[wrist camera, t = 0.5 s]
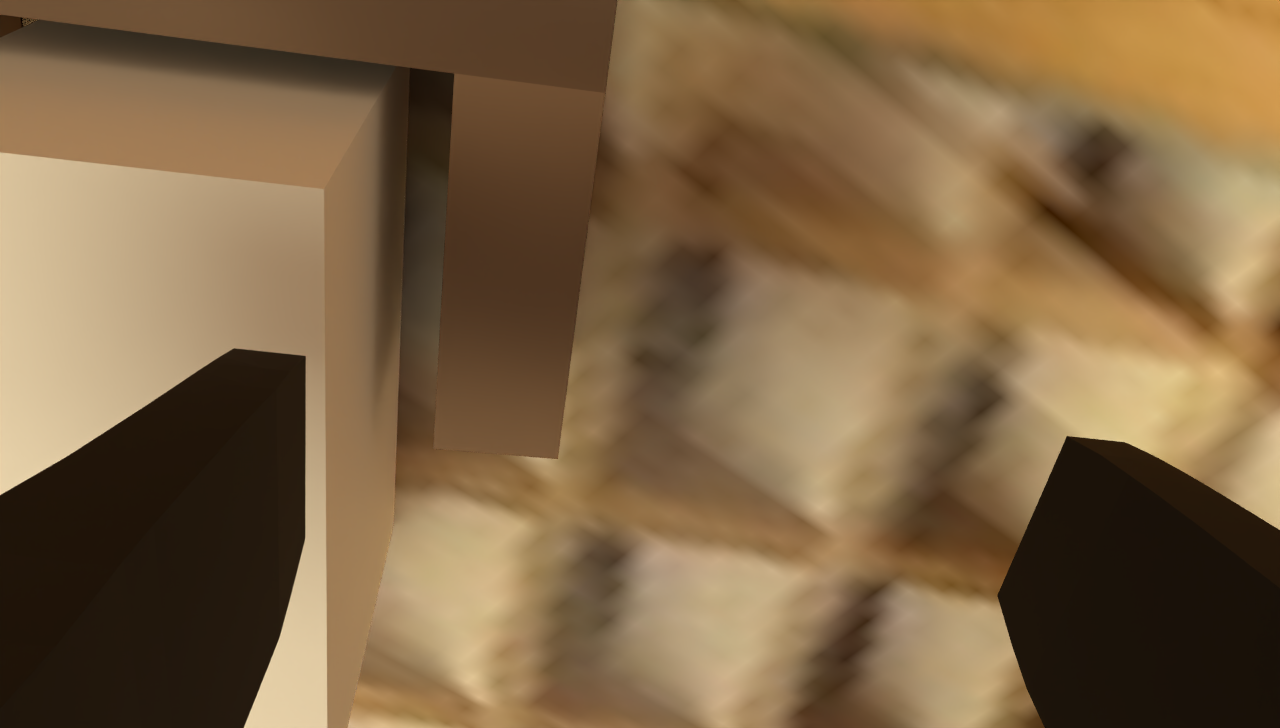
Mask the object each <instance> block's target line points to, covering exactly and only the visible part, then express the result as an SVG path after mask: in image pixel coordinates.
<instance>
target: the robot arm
mask: <svg viewBox="0 0 1280 728" xmlns="http://www.w3.org/2000/svg"><path fill="white" fill-rule="evenodd" d="M305 462H306V356H302V355H293V354H284V353H274V352H265V351H255V350H246V349H236V348H234V349H232V350H230V351H229V352H227V353H225V354H223V355H222V356H220V357H219V358H217V359H215V360H214V361H212V362H211V363H209V364H208V365H206V366H205V367H203V368H202V369H200V370H198V371H197V372H195V373H194V374H192V375H191V376H189V377H188V378H186V379H185V380H184V381H182V382H181V383H179V384H178V385H176V386H175V387H173V388H172V389H170V390H169V391H167V392H166V393H164V394H163V395H161V396H160V397H158V398H157V399H155V400H154V401H152V402H151V403H149V404H148V405H146V406H145V407H143V408H142V409H140V410H138V411H137V412H135V413H134V414H132V415H131V416H129V417H128V418H126V419H124V420H123V421H121V422H120V423H118V424H117V425H115V426H114V427H112V428H110V429H109V430H107V431H106V432H104V433H103V434H101V435H100V436H98V437H96V438H95V439H93V440H92V441H90V442H89V443H87V444H86V445H84V446H82V447H81V448H79V449H78V450H76V451H75V452H73V453H71V454H70V455H68V456H67V457H65V458H63V459H62V460H60V461H58V462H57V463H55V464H53V465H51V466H50V467H48V468H46V469H44V470H43V471H41V472H39V473H37V474H36V475H34V476H32V477H31V478H29V479H27V480H25V481H24V482H22V483H20V484H18V485H17V486H15V487H13V488H11V489H10V490H8V491H6V492H4V493H3V494H1V495H0V728H244V726H245V724H246V721H247V719H248V716H249V714H250V711H251V709H252V706H253V704H254V701H255V699H256V696H257V694H258V691H259V689H260V686H261V683H262V681H263V678H264V676H265V673H266V671H267V668H268V666H269V663H270V661H271V658H272V656H273V653H274V650H275V648H276V645H277V643H278V640H279V638H280V634H281V631H282V627H283V623H284V620H285V616H286V612H287V608H288V605H289V601H290V597H291V594H292V590H293V586H294V582H295V578H296V574H297V570H298V566H299V562H300V558H301V554H302V550H303V546H304V542H305ZM998 599H999V602H1000V606H1001V609H1002V613H1003V616H1004V619H1005V623H1006V626H1007V630H1008V633H1009V636H1010V640H1011V643H1012V647H1013V649H1014V652H1015V655H1016V658H1017V661H1018V664H1019V667H1020V670H1021V673H1022V676H1023V679H1024V682H1025V685H1026V688H1027V690H1028V692H1029V694H1030V696H1031V699H1032V701H1033V703H1034V705H1035V707H1036V710H1037V712H1038V714H1039V716H1040V718H1041V720H1042V722H1043V725H1044V727H1045V728H1280V530H1278V529H1277V528H1275V527H1274V526H1272V525H1270V524H1269V523H1267V522H1265V521H1264V520H1262V519H1261V518H1259V517H1257V516H1256V515H1254V514H1252V513H1251V512H1249V511H1248V510H1246V509H1244V508H1243V507H1241V506H1239V505H1238V504H1236V503H1235V502H1233V501H1231V500H1230V499H1228V498H1226V497H1225V496H1223V495H1221V494H1220V493H1218V492H1216V491H1215V490H1213V489H1211V488H1210V487H1208V486H1206V485H1205V484H1203V483H1201V482H1200V481H1198V480H1196V479H1194V478H1193V477H1191V476H1189V475H1187V474H1186V473H1184V472H1182V471H1181V470H1179V469H1177V468H1175V467H1173V466H1172V465H1170V464H1168V463H1166V462H1164V461H1162V460H1160V459H1159V458H1157V457H1155V456H1153V455H1151V454H1149V453H1147V452H1145V451H1143V450H1140V449H1138V448H1136V447H1134V446H1132V445H1130V444H1128V443H1125V442H1117V441H1107V440H1098V439H1088V438H1079V437H1069V436H1067V437H1066V440H1065V442H1064V444H1063V447H1062V449H1061V451H1060V453H1059V456H1058V458H1057V460H1056V463H1055V465H1054V467H1053V469H1052V472H1051V474H1050V476H1049V479H1048V481H1047V483H1046V486H1045V488H1044V490H1043V492H1042V495H1041V497H1040V499H1039V502H1038V504H1037V506H1036V508H1035V511H1034V513H1033V515H1032V518H1031V520H1030V522H1029V524H1028V527H1027V529H1026V531H1025V534H1024V536H1023V538H1022V540H1021V543H1020V545H1019V547H1018V550H1017V552H1016V554H1015V557H1014V559H1013V561H1012V563H1011V566H1010V568H1009V570H1008V573H1007V575H1006V577H1005V579H1004V582H1003V584H1002V586H1001V589H1000V591H999V593H998Z"/></svg>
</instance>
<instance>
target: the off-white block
mask: <svg viewBox="0 0 1280 728" xmlns="http://www.w3.org/2000/svg"><path fill="white" fill-rule="evenodd" d="M409 80H410V68H409V67H401V66H393V65H386V64H378V63H370V62H362V61H355V60H347V59H339V58H332V57H324V56H316V55H308V54H301V53H293V52H285V51H278V50H270V49H262V48H255V47H247V46H239V45H231V44H224V43H216V42H208V41H201V40H193V39H185V38H177V37H170V36H162V35H154V34H147V33H139V32H131V31H123V30H116V29H108V28H100V27H93V26H85V25H77V24H69V23H62V22H54V21H46V20H38V21H36V22H33V23H31V24H29V25H27V26H25V27H22V28H20V29H18V30H16V31H14V32H11V33H9V34H7V35H5V36H2V37H0V495H1V494H3V493H4V492H6V491H8V490H10V489H11V488H13V487H15V486H17V485H18V484H20V483H22V482H24V481H25V480H27V479H29V478H31V477H32V476H34V475H36V474H37V473H39V472H41V471H43V470H44V469H46V468H48V467H50V466H51V465H53V464H55V463H57V462H58V461H60V460H62V459H63V458H65V457H67V456H68V455H70V454H71V453H73V452H75V451H76V450H78V449H79V448H81V447H82V446H84V445H86V444H87V443H89V442H90V441H92V440H93V439H95V438H96V437H98V436H100V435H101V434H103V433H104V432H106V431H107V430H109V429H110V428H112V427H114V426H115V425H117V424H118V423H120V422H121V421H123V420H124V419H126V418H128V417H129V416H131V415H132V414H134V413H135V412H137V411H138V410H140V409H142V408H143V407H145V406H146V405H148V404H149V403H151V402H152V401H154V400H155V399H157V398H158V397H160V396H161V395H163V394H164V393H166V392H167V391H169V390H170V389H172V388H173V387H175V386H176V385H178V384H179V383H181V382H182V381H184V380H185V379H186V378H188V377H189V376H191V375H192V374H194V373H195V372H197V371H198V370H200V369H202V368H203V367H205V366H206V365H208V364H209V363H211V362H212V361H214V360H215V359H217V358H219V357H220V356H222V355H223V354H225V353H227V352H229V351H230V350H232V349H234V348H236V349H246V350H255V351H265V352H274V353H284V354H293V355H302V356H306V462H305V542H304V546H303V550H302V554H301V558H300V562H299V566H298V570H297V574H296V578H295V582H294V586H293V590H292V594H291V597H290V601H289V605H288V608H287V612H286V616H285V620H284V623H283V627H282V631H281V634H280V638H279V640H278V643H277V645H276V648H275V650H274V653H273V656H272V658H271V661H270V663H269V666H268V668H267V671H266V673H265V676H264V678H263V681H262V683H261V686H260V689H259V691H258V694H257V696H256V699H255V701H254V704H253V706H252V709H251V711H250V714H249V716H248V719H247V721H246V724H245V726H244V728H347V727H348V723H349V718H350V714H351V709H352V705H353V701H354V696H355V692H356V688H357V683H358V679H359V675H360V670H361V666H362V661H363V657H364V653H365V648H366V644H367V640H368V635H369V631H370V626H371V622H372V618H373V613H374V609H375V605H376V600H377V596H378V591H379V587H380V583H381V578H382V574H383V570H384V565H385V561H386V556H387V552H388V548H389V543H390V539H391V535H392V530H393V526H394V506H395V478H396V449H397V421H398V392H399V364H400V336H401V307H402V279H403V250H404V222H405V194H406V165H407V137H408V108H409Z"/></svg>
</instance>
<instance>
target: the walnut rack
mask: <svg viewBox="0 0 1280 728" xmlns="http://www.w3.org/2000/svg"><path fill="white" fill-rule="evenodd" d="M616 7H617V0H0V37H2V36H5V35H7V34H9V33H11V32H14V31H16V30H18V29H20V28H22V25H21V18H20V17H23V18H31V19H39V20H46V21H54V22H62V23H69V24H77V25H85V26H93V27H100V28H108V29H116V30H123V31H131V32H139V33H147V34H154V35H162V36H170V37H177V38H185V39H193V40H201V41H208V42H216V43H224V44H231V45H239V46H247V47H255V48H262V49H270V50H278V51H285V52H293V53H301V54H308V55H316V56H324V57H332V58H339V59H347V60H355V61H362V62H370V63H378V64H386V65H393V66H401V67H409V68H416V69H424V70H432V71H440V72H447V73H454V89H453V106H452V124H451V142H450V159H449V177H448V195H447V212H446V230H445V248H444V266H443V283H442V301H441V319H440V336H439V354H438V372H437V389H436V407H435V425H434V442H433V449H442V450H455V451H467V452H479V453H491V454H503V455H515V456H528V457H540V458H552V459H558V453H559V446H560V438H561V430H562V422H563V415H564V407H565V399H566V392H567V384H568V376H569V369H570V361H571V353H572V345H573V338H574V330H575V322H576V315H577V307H578V299H579V292H580V284H581V276H582V268H583V261H584V253H585V245H586V238H587V230H588V222H589V215H590V207H591V199H592V191H593V184H594V176H595V168H596V161H597V153H598V145H599V138H600V130H601V122H602V115H603V107H604V99H605V91H606V84H607V76H608V68H609V61H610V53H611V45H612V38H613V30H614V22H615V14H616Z"/></svg>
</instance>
